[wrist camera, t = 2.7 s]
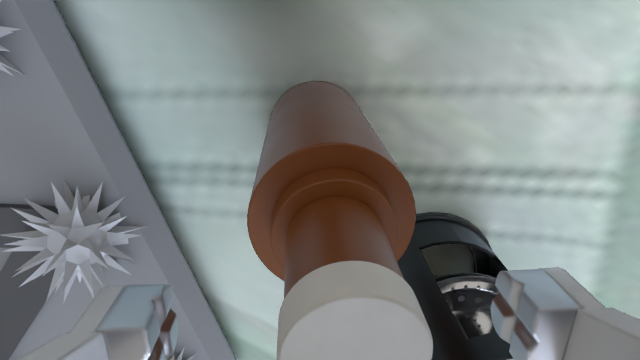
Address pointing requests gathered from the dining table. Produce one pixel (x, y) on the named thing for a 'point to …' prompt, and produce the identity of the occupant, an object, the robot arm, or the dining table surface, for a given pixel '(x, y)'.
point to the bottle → (335, 232)
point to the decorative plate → (75, 198)
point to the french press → (455, 291)
